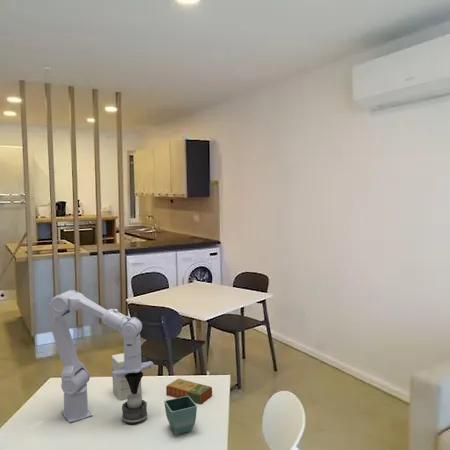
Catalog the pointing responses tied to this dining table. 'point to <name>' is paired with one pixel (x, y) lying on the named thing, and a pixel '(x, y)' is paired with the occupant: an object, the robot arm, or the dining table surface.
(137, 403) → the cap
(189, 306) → the dining table surface
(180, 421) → the flower pot
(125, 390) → the supplement box
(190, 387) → the carton
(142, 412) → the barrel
